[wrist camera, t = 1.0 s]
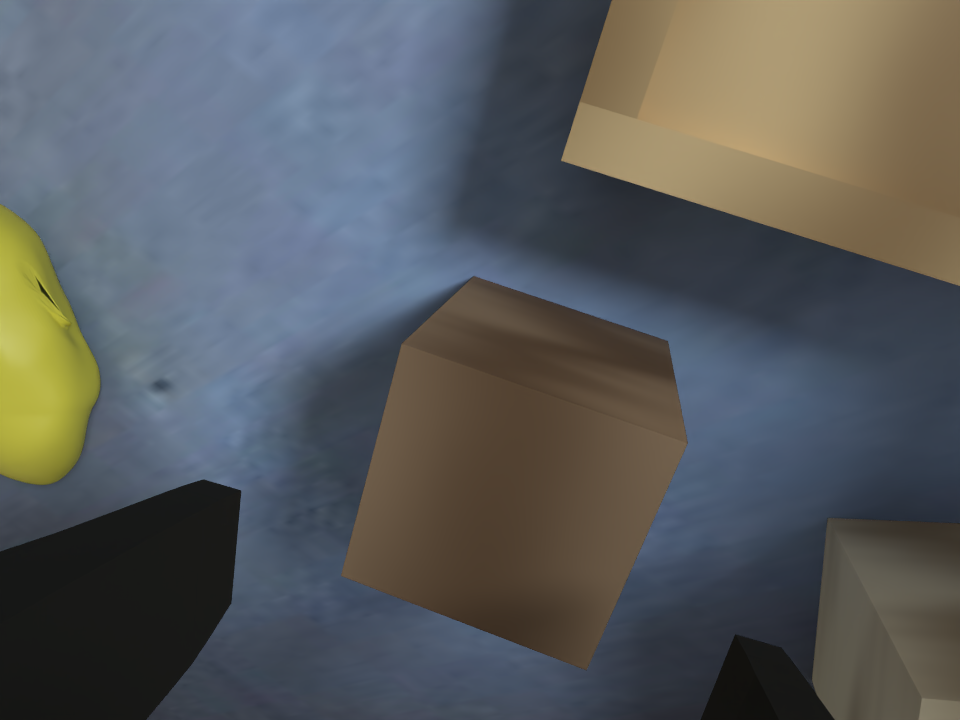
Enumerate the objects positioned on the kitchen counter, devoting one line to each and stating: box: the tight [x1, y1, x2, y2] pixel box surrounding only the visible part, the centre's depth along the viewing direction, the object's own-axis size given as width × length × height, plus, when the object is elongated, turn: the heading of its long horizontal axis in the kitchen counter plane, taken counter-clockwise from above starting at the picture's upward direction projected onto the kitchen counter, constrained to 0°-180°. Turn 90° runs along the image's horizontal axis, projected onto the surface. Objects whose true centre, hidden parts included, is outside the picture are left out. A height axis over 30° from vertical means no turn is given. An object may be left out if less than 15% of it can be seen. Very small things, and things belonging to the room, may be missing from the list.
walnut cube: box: [341, 276, 688, 670], centre depth 15 cm, size 5×5×6 cm
